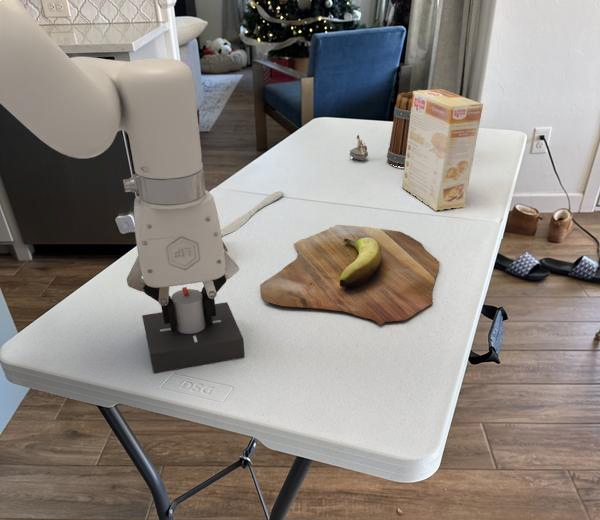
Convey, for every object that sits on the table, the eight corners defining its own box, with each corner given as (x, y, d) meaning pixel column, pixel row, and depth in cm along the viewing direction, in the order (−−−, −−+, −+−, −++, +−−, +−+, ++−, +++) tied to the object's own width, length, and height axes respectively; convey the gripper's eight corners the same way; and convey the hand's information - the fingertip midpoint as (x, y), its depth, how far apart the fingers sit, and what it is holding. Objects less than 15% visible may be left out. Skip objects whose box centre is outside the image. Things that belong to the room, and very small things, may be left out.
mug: (426, 172, 136) (435, 102, 127) (382, 167, 139) (388, 98, 129) (435, 153, 148) (445, 88, 138) (395, 149, 150) (401, 85, 141)
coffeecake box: (465, 207, 119) (485, 103, 106) (435, 212, 117) (451, 106, 104) (429, 184, 130) (442, 87, 117) (400, 188, 128) (411, 90, 115)
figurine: (346, 158, 145) (347, 132, 141) (361, 156, 146) (363, 130, 142) (356, 164, 141) (358, 138, 137) (372, 162, 142) (374, 136, 139)
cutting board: (427, 335, 81) (431, 311, 79) (244, 308, 87) (243, 285, 84) (447, 236, 107) (450, 216, 105) (305, 221, 113) (305, 201, 111)
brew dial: (208, 331, 76) (204, 299, 73) (178, 336, 75) (173, 303, 72) (203, 316, 79) (199, 284, 76) (174, 320, 78) (168, 289, 75)
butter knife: (288, 192, 124) (276, 189, 125) (219, 240, 105) (205, 236, 106) (288, 195, 124) (276, 192, 125) (219, 243, 106) (205, 239, 107)
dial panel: (153, 373, 74) (149, 353, 72) (145, 333, 81) (141, 314, 80) (244, 357, 77) (243, 337, 75) (228, 320, 84) (227, 300, 82)
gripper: (96, 205, 61) (129, 349, 72) (251, 188, 65) (258, 327, 76) (93, 182, 66) (124, 319, 78) (236, 168, 70) (245, 301, 82)
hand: (190, 322), depth 77 cm, fingers closed on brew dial, 4 cm apart
